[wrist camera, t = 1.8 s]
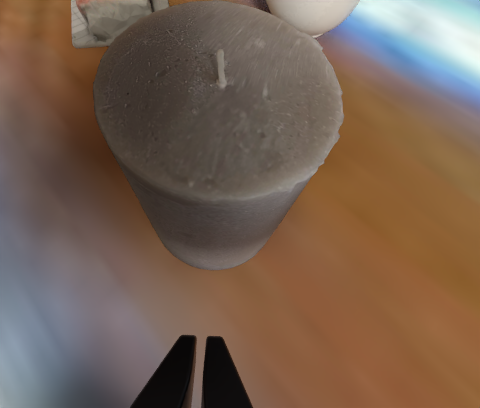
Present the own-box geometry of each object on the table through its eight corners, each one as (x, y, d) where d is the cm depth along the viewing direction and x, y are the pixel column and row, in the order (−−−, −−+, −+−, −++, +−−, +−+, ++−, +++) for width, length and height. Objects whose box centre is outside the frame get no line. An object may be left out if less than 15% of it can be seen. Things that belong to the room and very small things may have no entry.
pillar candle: (129, 205, 23) (10, 34, 10) (221, 138, 26) (232, -64, 13) (210, 300, 21) (211, 257, 7) (300, 215, 24) (417, 73, 11)
